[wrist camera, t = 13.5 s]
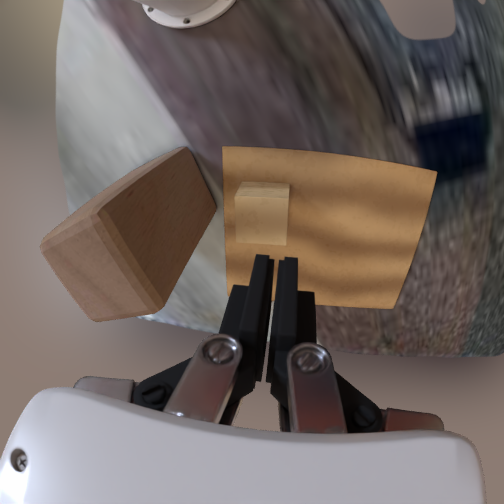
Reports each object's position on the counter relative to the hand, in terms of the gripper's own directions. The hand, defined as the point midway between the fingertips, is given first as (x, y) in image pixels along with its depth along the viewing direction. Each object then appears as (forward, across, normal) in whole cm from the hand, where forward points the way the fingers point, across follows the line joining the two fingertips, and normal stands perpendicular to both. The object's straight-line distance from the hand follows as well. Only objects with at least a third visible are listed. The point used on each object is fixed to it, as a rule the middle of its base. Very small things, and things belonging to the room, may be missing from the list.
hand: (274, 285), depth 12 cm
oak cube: (+25, +2, +7) cm, 26 cm away
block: (+25, +15, +6) cm, 30 cm away
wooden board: (+25, -6, +12) cm, 28 cm away
